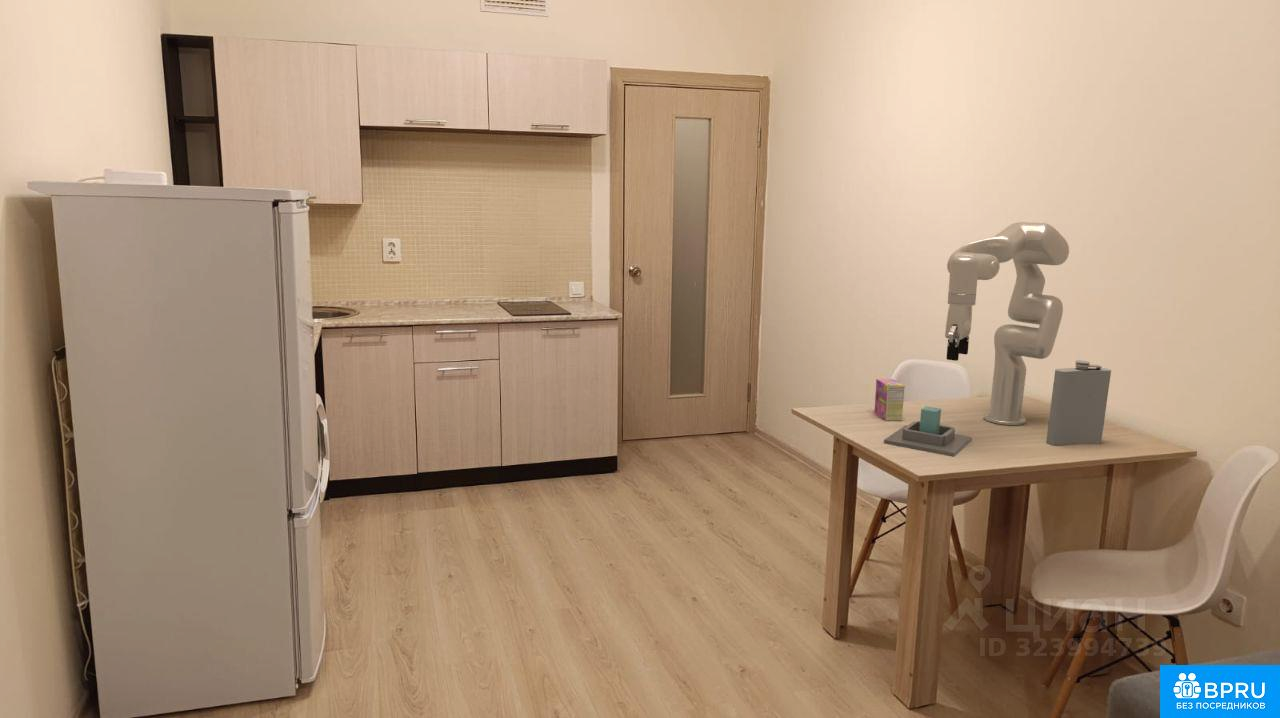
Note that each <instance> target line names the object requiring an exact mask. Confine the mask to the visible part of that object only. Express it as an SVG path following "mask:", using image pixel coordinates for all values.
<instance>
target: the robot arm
mask: <svg viewBox="0 0 1280 718" xmlns="http://www.w3.org/2000/svg"><path fill="white" fill-rule="evenodd" d="M1069 254H1070V246H1069V244H1068V241H1067V239H1066V238H1065V237H1064V236H1063V235H1062V234H1061V233H1060V231H1058V230H1057V229H1056V228H1055V227H1054V226H1052V225H1051V224H1048V223H1045V222H1044V223H1043V222H1027V221H1025V222H1024V221H1023V222H1021V221H1019V222H1018V221H1017V222H1014V223H1012V224H1010V225H1009V226H1007V227H1006V228H1004V229H1003V230H1002V231H1000V232H998V233H997V234H996V235H994V236H992V237H987V238H984V239H981V240H977V241H973V242H970V243H967V244H964V245H962V246H960V247H959V248H957V249H956V250H955V251H954V252H953V253H952V254H951V255H950V256H949V258H948V260H947V263H946V268H947V269H946V270H947V272H948V274H949V283H948V293H947V304H948V310H947V317H946V323H945V333H944V336H945V337H944V338H946V339H947V346H946V360H949V361H954V362H955V361H956V362H957V361H959V355H968V354H969V344H970V343H969V342H970V334H971V329H972V319H973V307H974V306H975V305H976V301H977V299H976V298H977V289H978V288H977V287H978V281H979V280H980V281H988V280H989V281H990V280H992V279H993V278H995V277H996V276H997V275H998V274H999V272H1000V264H1003V263H1006V262H1009V261H1010V260H1012V261H1013V264H1014V268H1015V271H1016V272H1015V273H1016V279H1015V284H1014V288H1013V291H1012V294H1011V296H1010V301H1009V303H1008V307H1007V308H1008V310H1007V316H1008V317H1009V319H1010V320H1012V321H1015V322H1018V323H1025V324H1032V325H1037V326H1038V325H1039V326H1038V327H1035V326H1034V327H1033V326H1026V325H1019V324H1010V323H1009V324H1003V325H1001V326H998V328H997V329H996V331H995V332H994V336H993V343H994V346H993V347H994V367H993V368H994V369H993V377H992V385H991V394H990V395H991V396H990V403H989V404H990V405H989V412H986V413H984V414H983V419H984V420H985V421H987V422H989V423H994V424H996V425H997V424H998V425H1002V426H1003V425H1004V426H1005V425H1006V426H1022V425H1025V424H1026V420H1027V419H1026V418H1025V417H1024V416H1022V411H1023V402H1024V392H1025V383H1026V375H1027V367H1026V364H1025V361H1024V359H1023V358H1022V357H1026V358H1032V359H1037V360H1038V359H1039V360H1043V359H1046V358H1048V357H1049V356H1050V355H1051V353H1052V352H1053V349H1054V345H1055V343H1056V339H1057V336H1058V334H1059V333H1058V332H1059V328H1060V326H1061V323H1062V322H1061V321H1062V318H1063V314H1064V313H1063V312H1064V306H1063V302H1062V300H1061V299H1060V298H1059V297H1057V296H1054V295H1048V294H1043V293H1044V288H1045V285H1046V278H1045V276H1044V273H1043V272H1042V270H1041V268H1040V267H1039V265H1044V266H1060V265H1062V264H1064V263H1065V262H1066V261H1067V259H1068V258H1069Z"/></svg>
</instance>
